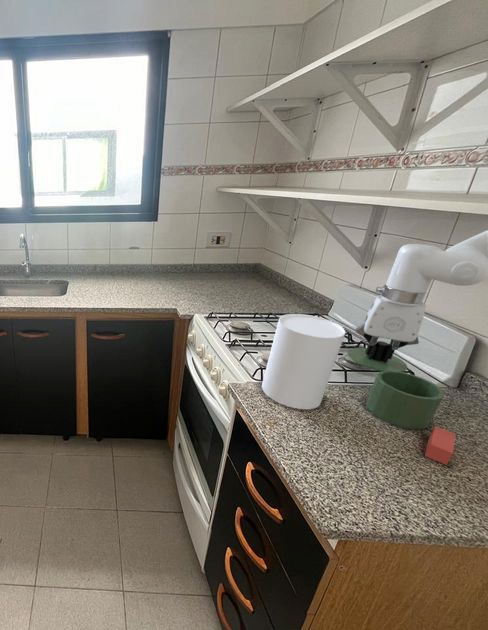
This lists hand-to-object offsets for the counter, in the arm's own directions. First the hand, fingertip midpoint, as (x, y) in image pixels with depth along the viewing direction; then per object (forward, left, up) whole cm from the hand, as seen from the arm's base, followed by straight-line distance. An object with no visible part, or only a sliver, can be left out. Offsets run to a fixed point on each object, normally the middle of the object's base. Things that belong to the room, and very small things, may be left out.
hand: (376, 358), depth 93 cm
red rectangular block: (-9, +24, -8) cm, 27 cm away
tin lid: (0, 0, -1) cm, 1 cm away
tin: (-4, +13, -8) cm, 16 cm away
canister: (+18, +17, -8) cm, 26 cm away
